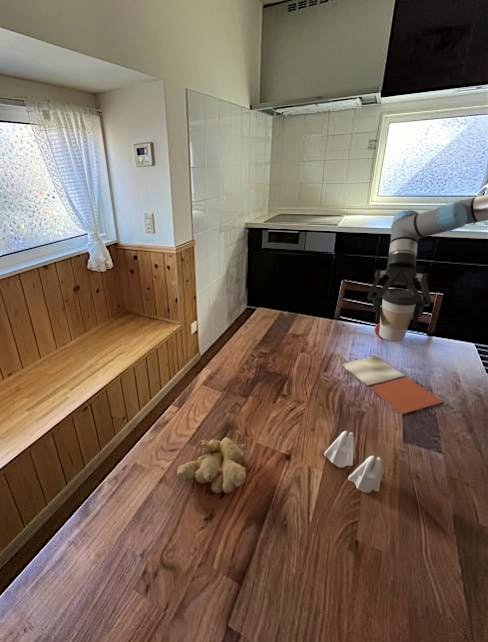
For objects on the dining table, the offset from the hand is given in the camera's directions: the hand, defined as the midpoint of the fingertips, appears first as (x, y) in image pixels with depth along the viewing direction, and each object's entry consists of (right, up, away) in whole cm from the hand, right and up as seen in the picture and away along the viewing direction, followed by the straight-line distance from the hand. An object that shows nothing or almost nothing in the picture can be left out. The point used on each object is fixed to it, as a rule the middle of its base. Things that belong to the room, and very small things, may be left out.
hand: (395, 323), depth 100 cm
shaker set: (-25, -33, -23) cm, 47 cm away
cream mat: (-1, -16, +11) cm, 19 cm away
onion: (+12, -8, +28) cm, 32 cm away
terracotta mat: (+2, -21, -1) cm, 21 cm away
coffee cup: (+2, -4, +5) cm, 7 cm away
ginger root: (-54, -34, -20) cm, 67 cm away
